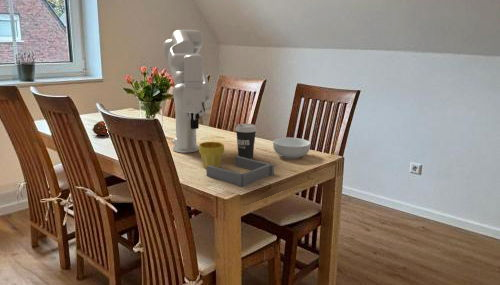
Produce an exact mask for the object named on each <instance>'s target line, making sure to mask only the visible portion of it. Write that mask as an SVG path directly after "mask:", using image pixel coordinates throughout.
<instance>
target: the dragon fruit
mask: <svg viewBox="0 0 500 285" xmlns="http://www.w3.org/2000/svg"><path fill="white" fill-rule="evenodd" d="M105 123H106V122H105ZM105 123H104V120H100V121H97V122H96V123H95V124H94V125H93V127H92V129H91V131H92V132H93V133H94V134H95V135H96V134H97V135H96V136H99V135H104V136H105V135H106V134H107V135H109V134H108V133H107V129H106V126H105Z"/></svg>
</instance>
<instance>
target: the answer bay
mask: <svg viewBox="0 0 500 285" xmlns="http://www.w3.org/2000/svg"><path fill="white" fill-rule="evenodd" d="M235 167H240V168H242V169H243V168H244V169H247V170H249V171H247V172H243V173H240V172H236V171H233V170H228V169H224V168H221V167H219V168H218V167H214V166H211V165H208V166H207V169H206V176H207V177H210V178H213V179H217V180H219V181H220V180H221V181H223V182H227V183H230V184H233V185H237V187H246V186H247V185H248V184H252V183H254V182H257V181H258V180H261V179H263V178H266V177H269V176H273V175H275V164H274V163H268V162H265V161H260V160H256V159H248V158H244V157H240V156H238V155H236V156H235Z"/></svg>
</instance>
